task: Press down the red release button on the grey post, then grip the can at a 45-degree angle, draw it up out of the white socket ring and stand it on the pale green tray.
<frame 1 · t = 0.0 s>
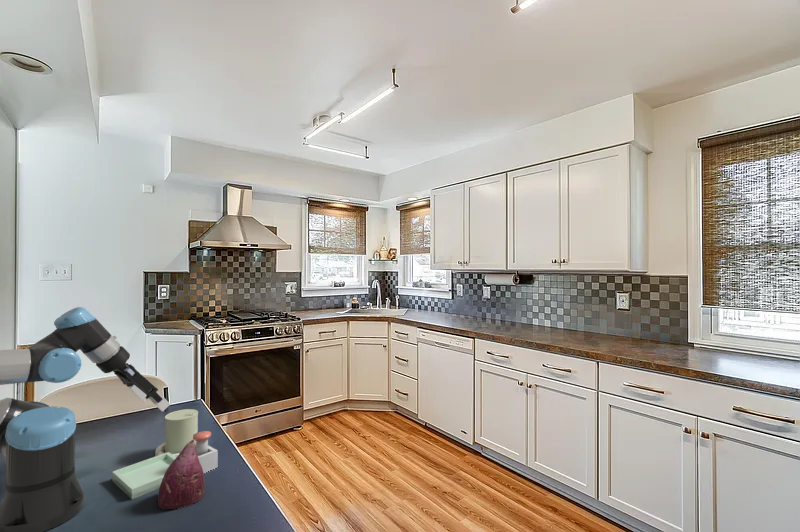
hand: (156, 403, 120), 15 cm above the table, tool tilted 35°, fingers open, 13 cm apart
socket ring: (181, 451, 121), on the table
tray: (152, 478, 105), on the table
can: (181, 452, 121), resting in socket ring
vegetable: (182, 498, 96), on the table
button post: (201, 469, 110), on the table
release button: (202, 445, 110), point 7 cm above the table, slide at 0.0 cm
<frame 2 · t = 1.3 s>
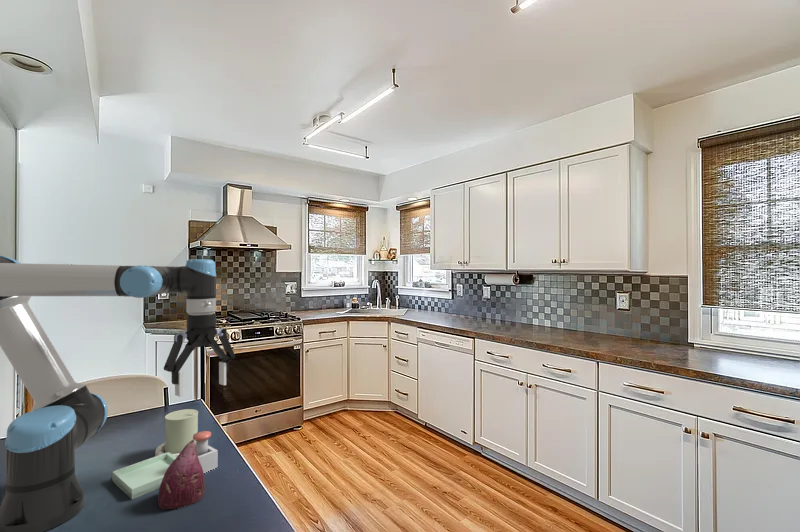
hand: (201, 389, 110), 22 cm above the table, tool pointing down, fingers open, 12 cm apart
nothing on the table moved.
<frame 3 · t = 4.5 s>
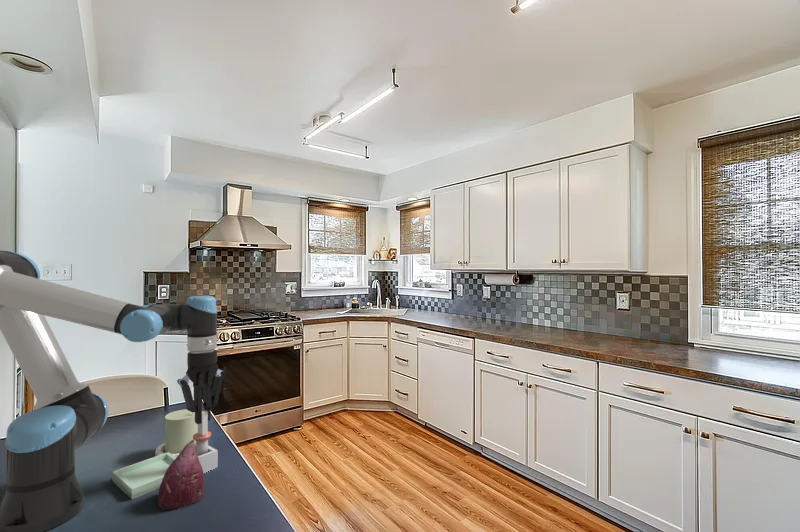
hand: (202, 433, 110), 10 cm above the table, tool pointing down, fingers closed
release button: (202, 445, 110), point 7 cm above the table, slide at 0.0 cm, touching gripper
everything else where it was.
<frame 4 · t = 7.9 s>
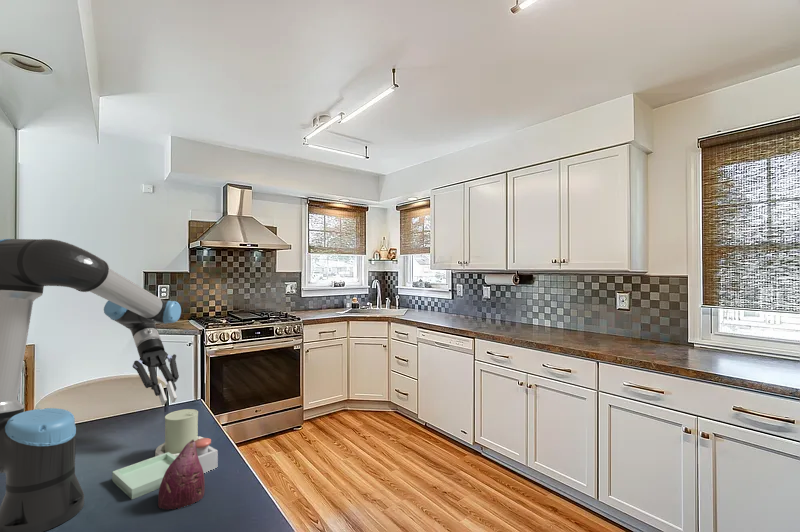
hand: (169, 401, 126), 14 cm above the table, tool tilted 45°, fingers open, 2 cm apart
release button: (202, 452, 110), point 5 cm above the table, slide at 2.0 cm
everything else where it was.
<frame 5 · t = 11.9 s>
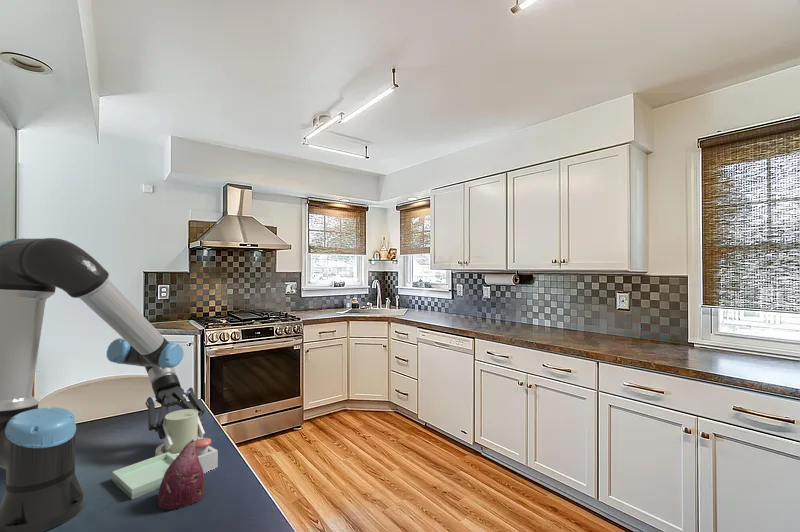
hand: (186, 441, 119), 4 cm above the table, tool tilted 45°, fingers closed on can, 9 cm apart
can: (181, 451, 121), resting in socket ring, touching gripper
everything else where it was.
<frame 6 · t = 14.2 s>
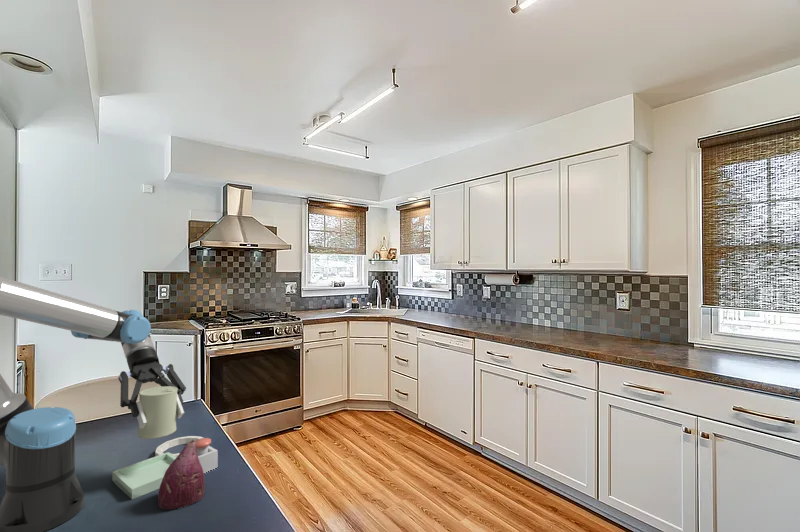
hand: (163, 420, 107), 15 cm above the table, tool tilted 45°, fingers closed on can, 9 cm apart
can: (157, 433, 108), point 11 cm above the table, touching gripper
everything else where it was.
when the fingers open (6 cm above the table, at t = 16.7 s): can drops 1 cm, resting on tray.
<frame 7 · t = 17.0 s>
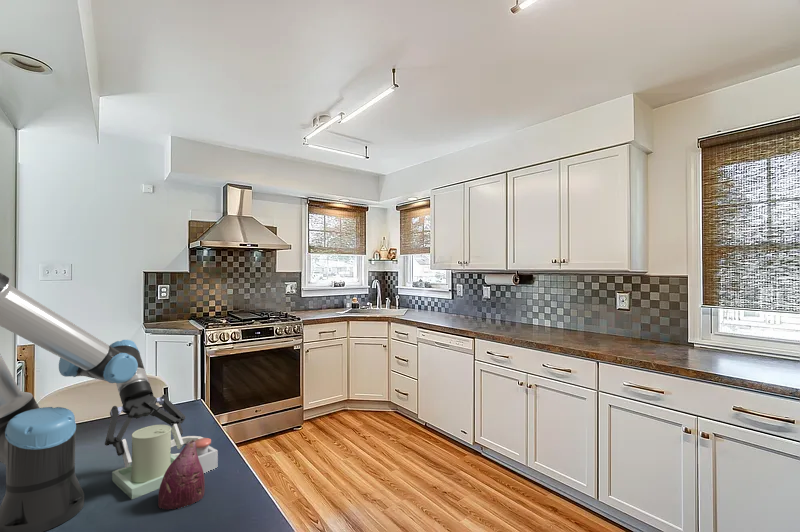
hand: (156, 455, 104), 7 cm above the table, tool tilted 45°, fingers open, 12 cm apart
can: (151, 474, 105), point 1 cm above the table, touching tray
everything else where it was.
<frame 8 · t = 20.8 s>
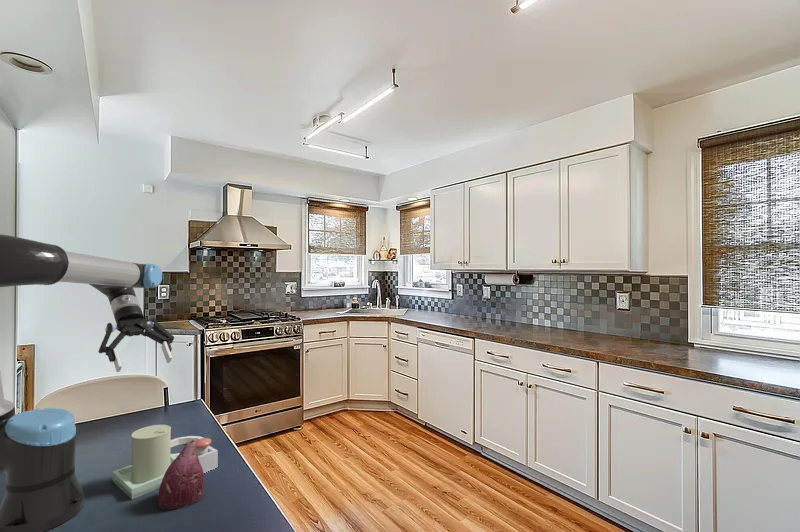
hand: (145, 364, 118), 28 cm above the table, tool tilted 45°, fingers open, 13 cm apart
nothing on the table moved.
at the end: can inside the target area on the tray (0.1 cm from its centre), point 1.0 cm above the tray's base; can tilted 0°; release button slide at 2.0 cm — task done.
